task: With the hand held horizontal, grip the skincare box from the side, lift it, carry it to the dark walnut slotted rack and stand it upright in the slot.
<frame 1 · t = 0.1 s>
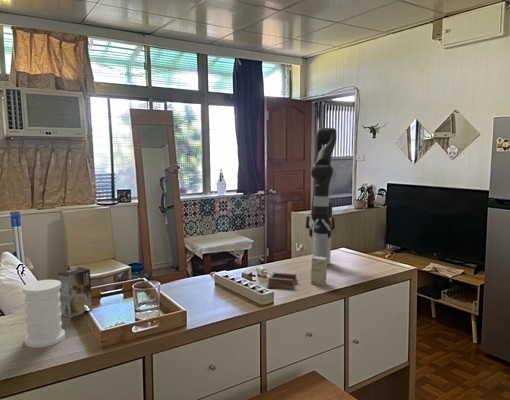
hand: (319, 237, 202), 17 cm above the cabinet, tool pointing down, fingers open, 8 cm apart
rack: (282, 283, 185), on the cabinet
decorative container: (45, 339, 130), on the cabinet
coffee box: (76, 312, 151), on the cabinet
skincare box: (318, 283, 185), on the cabinet
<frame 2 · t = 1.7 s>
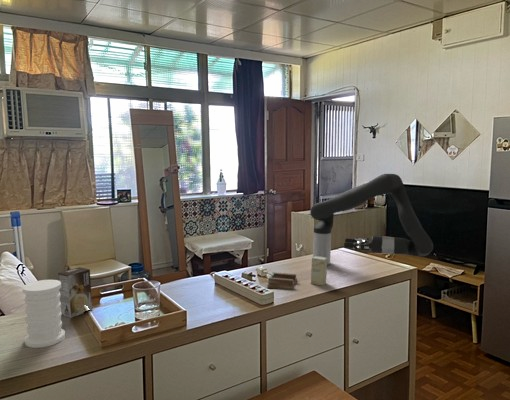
hand: (344, 242, 180), 20 cm above the cabinet, tool horizontal, fingers open, 8 cm apart
nothing on the cabinet moved.
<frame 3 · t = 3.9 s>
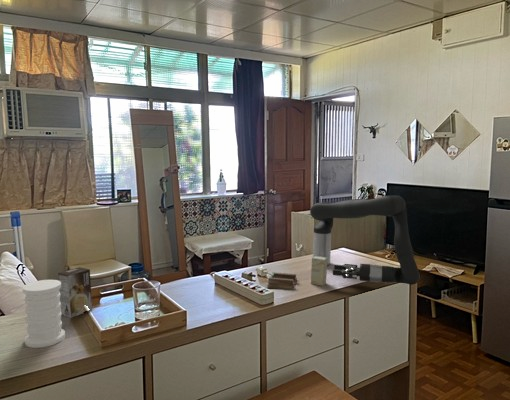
hand: (333, 269, 183), 7 cm above the cabinet, tool horizontal, fingers open, 8 cm apart
nothing on the cabinet moved.
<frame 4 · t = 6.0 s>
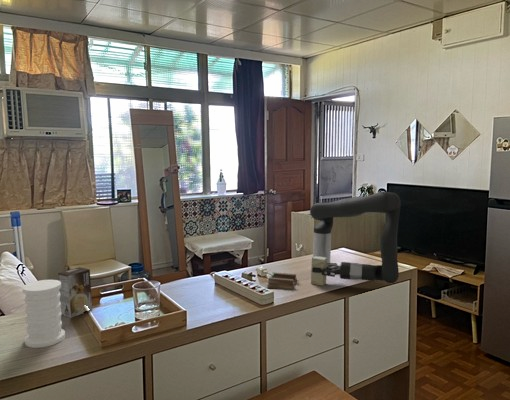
hand: (313, 268, 185), 7 cm above the cabinet, tool horizontal, fingers closed on skincare box, 5 cm apart
skincare box: (318, 283, 185), on the cabinet, touching gripper
everything else where it was.
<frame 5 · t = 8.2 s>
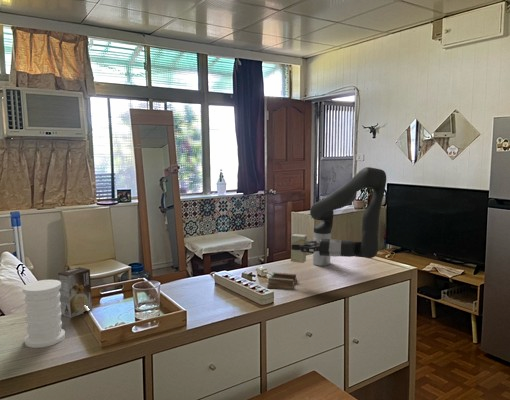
hand: (292, 245, 183), 18 cm above the cabinet, tool horizontal, fingers closed on skincare box, 5 cm apart
skincare box: (298, 261, 183), point 10 cm above the cabinet, touching gripper
everything else where it was.
when the fingers open (9 cm above the cabinet, at t = 10.8 s): skincare box stays where it is, resting on rack.
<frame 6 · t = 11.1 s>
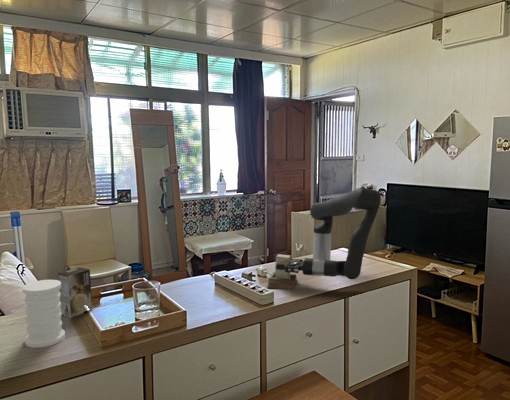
hand: (278, 264, 184), 9 cm above the cabinet, tool horizontal, fingers open, 7 cm apart
skincare box: (282, 282, 184), point 1 cm above the cabinet, touching rack
everything else where it was.
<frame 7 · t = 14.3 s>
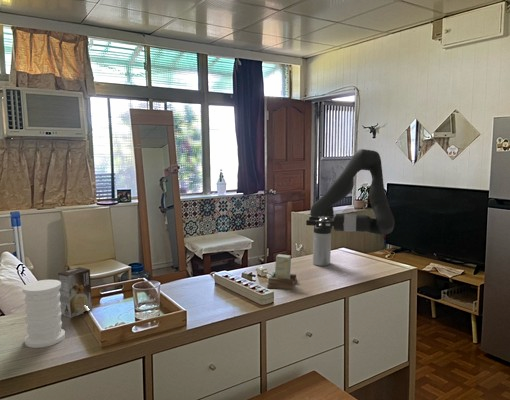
hand: (307, 220, 178), 30 cm above the cabinet, tool horizontal, fingers open, 8 cm apart
nothing on the cabinet moved.
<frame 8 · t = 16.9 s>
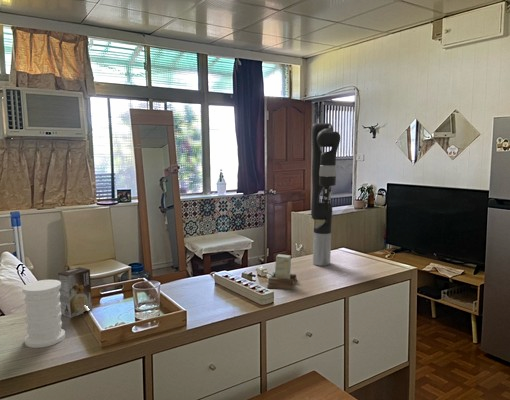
hand: (326, 209, 188), 33 cm above the cabinet, tool pointing down, fingers open, 8 cm apart
nothing on the cabinet moved.
at the end: skincare box inside the target area on the rack (0.5 cm from its centre), point 0.8 cm above the rack's base; skincare box tilted 0°; the gripper is holding nothing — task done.
